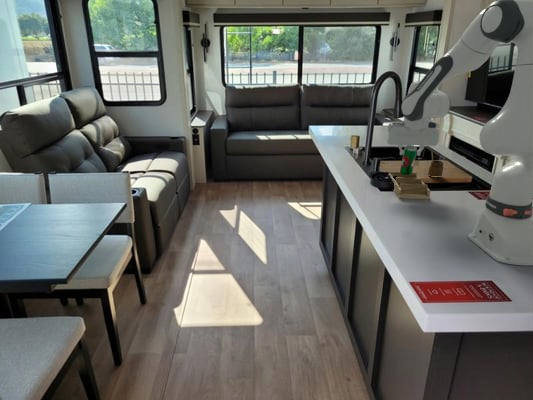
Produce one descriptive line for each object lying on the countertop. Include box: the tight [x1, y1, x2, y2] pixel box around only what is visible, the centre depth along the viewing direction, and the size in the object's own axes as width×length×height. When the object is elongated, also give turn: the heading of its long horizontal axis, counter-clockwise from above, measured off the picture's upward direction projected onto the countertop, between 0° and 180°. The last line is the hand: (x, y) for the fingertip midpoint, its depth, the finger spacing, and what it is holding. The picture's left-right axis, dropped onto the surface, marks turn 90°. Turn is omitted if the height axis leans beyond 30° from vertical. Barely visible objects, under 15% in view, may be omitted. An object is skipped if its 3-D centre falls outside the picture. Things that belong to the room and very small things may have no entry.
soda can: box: [399, 145, 418, 175], centre depth 162 cm, size 5×5×12 cm
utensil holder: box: [428, 150, 446, 177], centre depth 176 cm, size 6×6×12 cm
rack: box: [387, 170, 431, 200], centre depth 162 cm, size 20×12×5 cm, turn 176°
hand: (409, 155), depth 161 cm, fingers closed on soda can, 5 cm apart
